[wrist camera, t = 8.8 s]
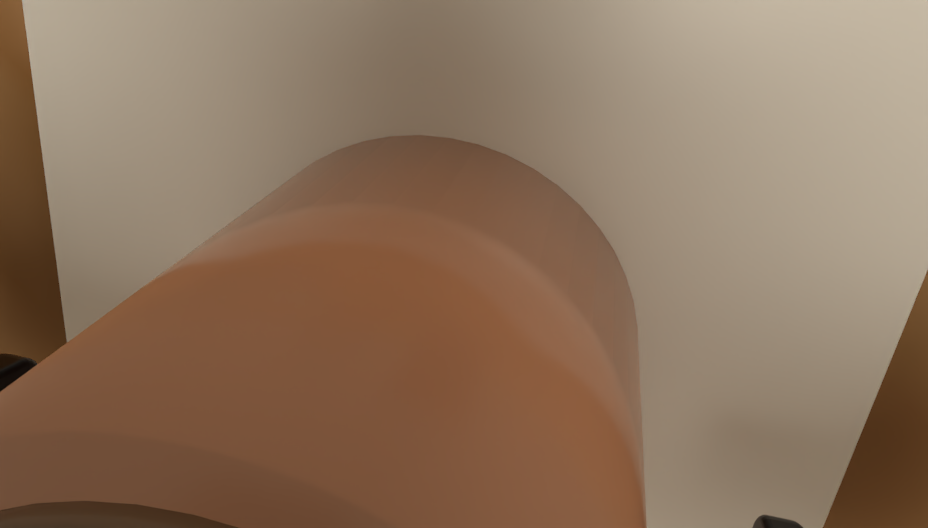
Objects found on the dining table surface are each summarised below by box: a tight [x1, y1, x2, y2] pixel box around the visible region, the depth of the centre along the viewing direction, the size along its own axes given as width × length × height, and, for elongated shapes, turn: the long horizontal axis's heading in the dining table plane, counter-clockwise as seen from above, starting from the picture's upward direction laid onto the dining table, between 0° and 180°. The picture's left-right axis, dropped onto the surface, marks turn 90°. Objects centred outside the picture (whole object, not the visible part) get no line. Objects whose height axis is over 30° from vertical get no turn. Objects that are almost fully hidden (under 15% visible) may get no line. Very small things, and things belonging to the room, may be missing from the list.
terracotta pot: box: [0, 135, 647, 528], centre depth 9 cm, size 6×6×7 cm
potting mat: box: [22, 0, 928, 528], centre depth 12 cm, size 13×13×1 cm
